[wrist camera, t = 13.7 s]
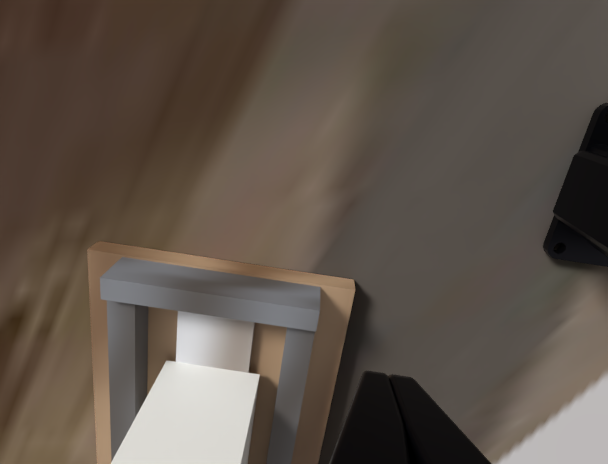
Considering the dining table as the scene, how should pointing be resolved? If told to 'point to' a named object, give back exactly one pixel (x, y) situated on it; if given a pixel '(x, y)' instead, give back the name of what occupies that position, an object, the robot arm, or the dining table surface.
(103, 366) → the rail mount
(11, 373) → the dining table surface
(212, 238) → the dining table surface
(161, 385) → the block
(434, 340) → the dining table surface
